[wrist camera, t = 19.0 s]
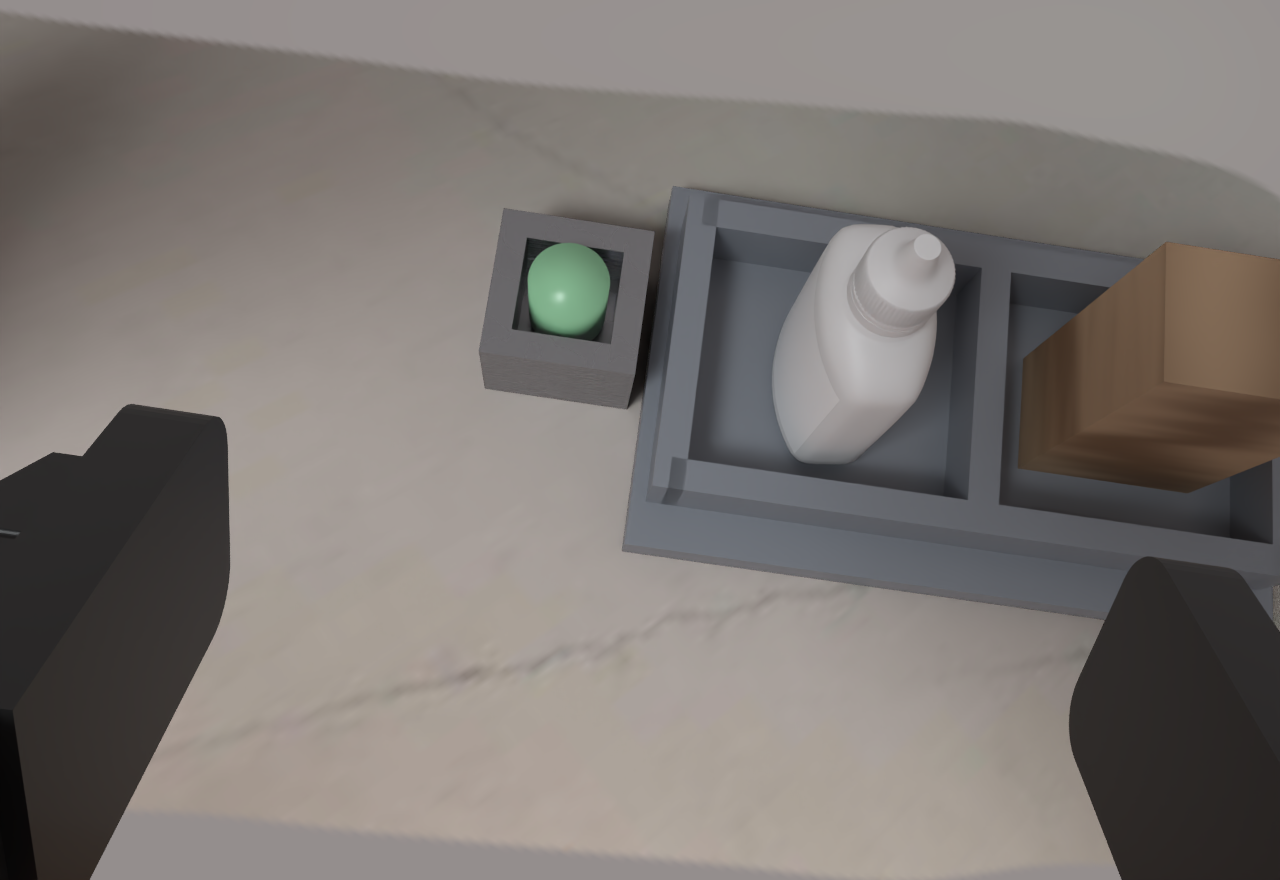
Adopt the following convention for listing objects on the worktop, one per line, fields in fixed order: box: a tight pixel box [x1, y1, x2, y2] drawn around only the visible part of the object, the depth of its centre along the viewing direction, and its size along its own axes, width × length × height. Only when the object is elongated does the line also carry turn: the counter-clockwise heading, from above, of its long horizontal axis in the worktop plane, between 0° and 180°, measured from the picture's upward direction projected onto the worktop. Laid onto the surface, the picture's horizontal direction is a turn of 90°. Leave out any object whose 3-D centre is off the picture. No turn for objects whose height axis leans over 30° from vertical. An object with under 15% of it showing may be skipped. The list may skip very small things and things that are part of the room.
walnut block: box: [1018, 242, 1280, 493], centre depth 37 cm, size 6×4×10 cm, turn 83°
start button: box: [528, 243, 610, 341], centre depth 39 cm, size 3×3×3 cm
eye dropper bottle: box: [772, 224, 956, 464], centre depth 35 cm, size 4×6×12 cm
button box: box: [479, 208, 655, 409], centre depth 41 cm, size 5×5×4 cm
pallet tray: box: [622, 186, 1280, 621], centre depth 41 cm, size 22×13×4 cm, turn 83°
